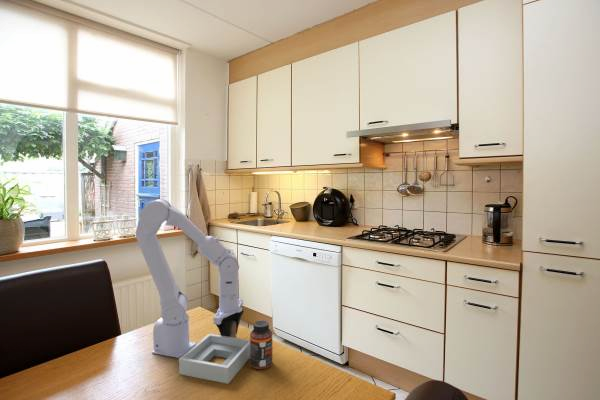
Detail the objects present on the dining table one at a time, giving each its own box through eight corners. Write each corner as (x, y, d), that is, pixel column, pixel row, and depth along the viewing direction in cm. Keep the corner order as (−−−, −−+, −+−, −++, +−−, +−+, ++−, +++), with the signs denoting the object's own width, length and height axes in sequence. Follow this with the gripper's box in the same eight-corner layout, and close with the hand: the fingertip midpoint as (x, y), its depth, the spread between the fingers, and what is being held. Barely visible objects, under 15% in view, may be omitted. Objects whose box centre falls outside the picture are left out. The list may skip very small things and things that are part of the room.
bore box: (179, 374, 83) (178, 358, 82) (209, 346, 96) (209, 333, 96) (228, 383, 79) (227, 368, 78) (252, 353, 92) (252, 340, 92)
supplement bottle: (268, 372, 83) (268, 329, 83) (246, 369, 85) (246, 327, 84) (275, 359, 89) (274, 319, 89) (254, 357, 90) (254, 317, 90)
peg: (220, 344, 97) (220, 325, 97) (227, 338, 101) (226, 319, 101) (232, 346, 96) (232, 327, 96) (238, 340, 100) (238, 321, 100)
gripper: (228, 303, 90) (229, 351, 90) (251, 287, 103) (251, 328, 104) (206, 301, 92) (207, 347, 92) (231, 285, 105) (232, 325, 106)
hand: (229, 337), depth 98 cm, fingers closed on peg, 4 cm apart
